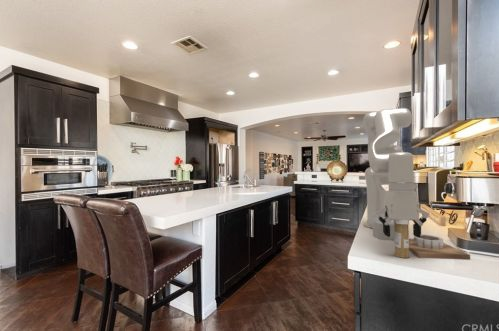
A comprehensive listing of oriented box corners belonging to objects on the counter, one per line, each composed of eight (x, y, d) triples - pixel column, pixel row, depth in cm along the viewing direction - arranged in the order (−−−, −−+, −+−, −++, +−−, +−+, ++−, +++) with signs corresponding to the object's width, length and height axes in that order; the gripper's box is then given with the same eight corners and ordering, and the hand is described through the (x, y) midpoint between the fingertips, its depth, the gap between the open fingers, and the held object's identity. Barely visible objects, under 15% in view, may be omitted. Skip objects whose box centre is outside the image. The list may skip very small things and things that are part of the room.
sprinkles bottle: (411, 258, 82) (411, 219, 82) (396, 257, 83) (395, 218, 83) (406, 254, 86) (406, 216, 86) (392, 253, 87) (392, 216, 88)
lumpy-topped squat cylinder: (376, 239, 104) (375, 219, 104) (370, 231, 116) (370, 214, 116) (403, 241, 101) (403, 221, 101) (394, 233, 113) (394, 215, 113)
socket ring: (409, 241, 96) (409, 234, 96) (433, 242, 95) (433, 234, 95) (422, 249, 87) (422, 240, 87) (449, 249, 86) (449, 241, 86)
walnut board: (394, 241, 101) (394, 238, 101) (436, 242, 99) (436, 239, 99) (418, 257, 83) (418, 253, 83) (470, 259, 81) (470, 254, 81)
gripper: (421, 186, 87) (422, 234, 87) (371, 186, 90) (371, 232, 89) (434, 188, 80) (435, 240, 79) (379, 188, 82) (380, 238, 82)
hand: (401, 236), depth 84 cm, fingers open, 9 cm apart
